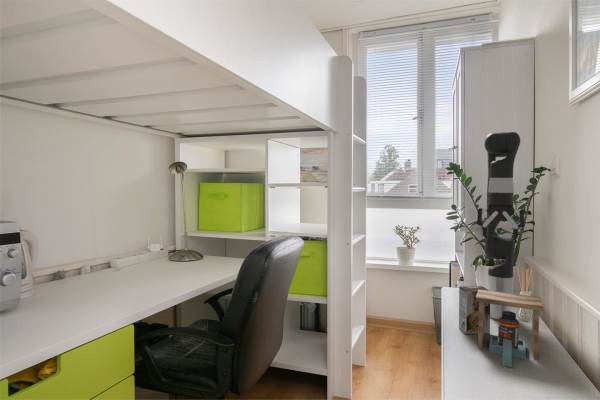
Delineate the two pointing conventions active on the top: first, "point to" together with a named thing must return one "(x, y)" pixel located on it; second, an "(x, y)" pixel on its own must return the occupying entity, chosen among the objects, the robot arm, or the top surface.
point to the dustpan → (507, 350)
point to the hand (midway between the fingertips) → (499, 238)
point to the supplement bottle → (508, 328)
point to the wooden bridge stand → (511, 301)
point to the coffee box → (472, 310)
